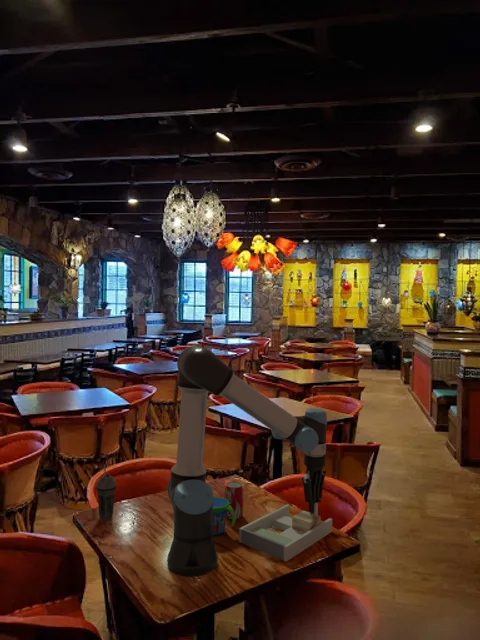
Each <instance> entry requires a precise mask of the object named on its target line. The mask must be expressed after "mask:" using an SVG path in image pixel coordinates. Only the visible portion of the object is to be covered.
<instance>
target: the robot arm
mask: <svg viewBox="0 0 480 640" xmlns="http://www.w3.org/2000/svg"><path fill="white" fill-rule="evenodd" d="M176 362H177V363H176V366H177V371H178V374H177V375H178V377H177V388H178V389H179V390H180V391H181V396H180V407H179V408H180V409H179V422H178V423H179V425H178V433H177V434H178V437H177V449H176V461H175V462H176V463H175V464H174V465H173V466H172V467H171V469H170V478H169V481H168V485H167V494H168V499H169V500H170V504H171V508H172V509H173V539H172V542H171V546H170V549H169V551H168V553H167V561H166V562H167V563H166V564H167V565H166V566H167V567H168V570H170V571H172V573H174V574H178V575H181V576H190V577H192V576H195V577H196V576H201V575H205V574H209V573H210V572H212V571H214V570H215V569H216V567H218V562H219V561H218V552H217V549H216V546H215V542H214V539H213V535H212V525H213V501H214V497H215V496H214V490H213V488H212V486H211V485H210V484H209V483H208V482H206V481H207V469H206V467H205V466H204V465H203V461H204V460H203V459H204V447H205V434H206V432H205V431H206V420H207V409H208V408H207V407H208V395H209V393H211V395H214V396H215V397H220V396H221V397H222V398H224V399H225V400H226V401H228V402H230V403H231V404H232V405H234V406H235V407H238V408H239V409H240V410H242V411H243V412H245V413H246V414H247V415H249V416H250V417H252V418H254V419H255V420H256V421H258V422H259V423H261V424H262V425H263V426H265V427H266V428H269V429H270V431H271V435H272V437H273V439H276V440H281V441H282V440H285V441H287V442H288V443H290V444H291V445H293V446H294V447H296V449H298V450H299V451H301V452H304V455H303V464H304V466H305V467H306V471H305V476H302V477H301V481H302V484H303V493H304V494H303V495H304V502H305V503H307V504H308V512H309V513H312V514H315V515H318V513H319V512H318V511H319V510H318V508H319V503H322V499H323V492H324V486H325V485H324V483H325V477H326V475H327V470H325V469H324V467H325V466H326V461H327V460H326V459H327V458H326V457H327V455H326V454H327V453H326V452H327V426H328V417H327V415H328V414H327V412H326V411H325V410H323V409H320V408H319V409H318V408H310V409H309V408H308V409H306V410H305V412H304V415H298V416H297V415H296V416H295V415H293V414H291V413H289V412H288V411H287V410H286V409H284V408H283V407H281V405H279V404H277V403H275V402H274V401H273V400H271V399H269V398H268V397H267V396H265V395H264V394H263V393H262V392H261V391H258V390H257V389H255V388H254V387H253V386H251V385H250V384H248V383H247V382H246V381H244V380H242V379H241V378H240V377H238V376H237V375H236V374H235V370H234V369H232V368H231V367H230V366H229V365H227V364H226V363H225V362H223V360H221V359H220V358H219V356H217V355H216V354H215V352H213V351H212V350H210V349H207V348H206V347H204V346H202V345H201V346H200V345H192V346H188V347H186V348H185V349H183V350H182V351H181V352H180V354H179V355H178V358H177V361H176Z"/></svg>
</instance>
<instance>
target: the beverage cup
mask: <svg viewBox="0 0 480 640" xmlns="http://www.w3.org/2000/svg"><path fill="white" fill-rule="evenodd" d="M106 469H107V468H106V464H103V472H104V473H103V474H104V475H102V476H101V477H100V478H98V480H97V482H96V487H95V488H96V493H97V503H98V517H99V521H104V522H105V521H107V522H108V521H110V520H112V519H113V514H114V507H115V499H116V490H117V487H118V486H117V482H116V479H115V477H113V476H112V475H110V474H107V472H106V471H107V470H106Z"/></svg>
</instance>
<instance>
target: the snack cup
mask: <svg viewBox="0 0 480 640" xmlns="http://www.w3.org/2000/svg"><path fill="white" fill-rule="evenodd" d="M228 511H230V512H231V516H232V519H231V523H230V526H231V527H233V526H234V525H235V523H236V519H235V513H234V510H233V508H232V507H231V506H230V505H229V501H228V500H227V499H225V497H220V496H214V501H213V525H212V536H218V535H221V534H223V533H224V532H225V530H226V525H227V519H228V518H227V512H228Z"/></svg>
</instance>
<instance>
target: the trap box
mask: <svg viewBox="0 0 480 640" xmlns="http://www.w3.org/2000/svg"><path fill="white" fill-rule="evenodd" d="M290 508H291V507H290V504H288V503H287V504H285V505H283V506H282V507H279V508H277V509H275V510H273V511H271V512H269V513H267V514H266V515H265V514H264V515H263V516H262V517H259V518H258V519H257V518H256V519H255V520H253V521H251V522H249V523H248V524H246V525H243V526H241V527H239V528H238V542H239V543H241V544H243V545H245V546H247V547H251V548H252V549H255V550H257V551H260V552H262V553H265V554H267V555H270V556H272V557H274V558H277V559H279V560H282V561H283V562H288V561H289V560H291V559H293V558H294V557H296V556H297V555H298V554H300V553H302V552H303V551H305V550H307V549H308V548H310V547H311V546H313V545H314V544H315V543H317V542H319V541H320V540H321V539H323V538H325V537H326V536H327V535H329V534H331V533H332V532H333V518H332V517H329V518H327V519H326V520H324V521H323V522H320V524H319V525H318V526H316V527H314V528H313V529H311V530H309V531H308V532H306V533H304V532H301V531H299V530H296V529H293V528H292V517H290ZM272 526H273V527H272ZM275 527H276V528H275ZM269 528H275V529H278V530H280V529H281V530H280V531H281V532H280V533H276V532H273V531H270V530H268V529H269ZM283 530H284V531H283Z"/></svg>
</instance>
